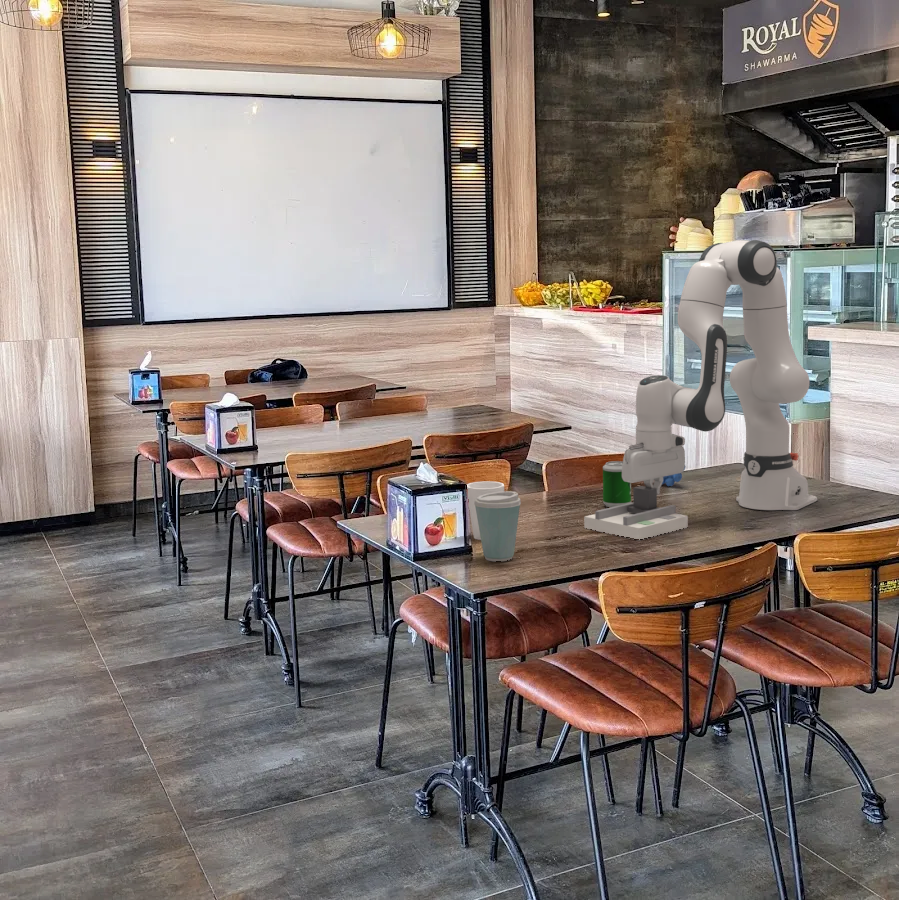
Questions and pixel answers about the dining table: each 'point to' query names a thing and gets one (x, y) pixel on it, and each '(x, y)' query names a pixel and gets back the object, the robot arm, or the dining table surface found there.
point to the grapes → (672, 479)
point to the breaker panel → (636, 521)
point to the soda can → (615, 485)
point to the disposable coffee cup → (498, 524)
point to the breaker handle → (643, 499)
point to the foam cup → (476, 491)
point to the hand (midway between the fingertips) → (653, 495)
